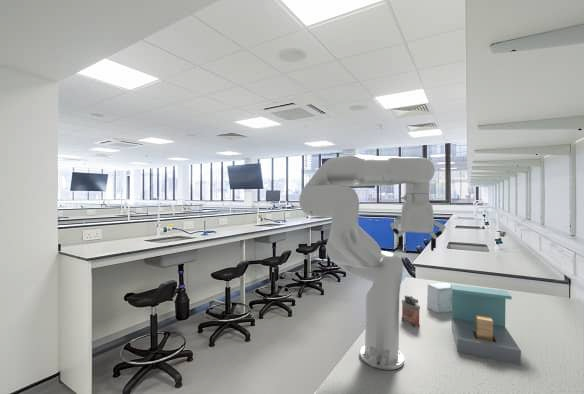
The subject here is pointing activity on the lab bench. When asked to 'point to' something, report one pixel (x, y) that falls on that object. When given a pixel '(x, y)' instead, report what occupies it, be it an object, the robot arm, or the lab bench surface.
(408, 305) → the lighter
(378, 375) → the lab bench surface
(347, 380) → the lab bench surface
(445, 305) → the skincare box
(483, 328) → the peg
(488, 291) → the socket block
